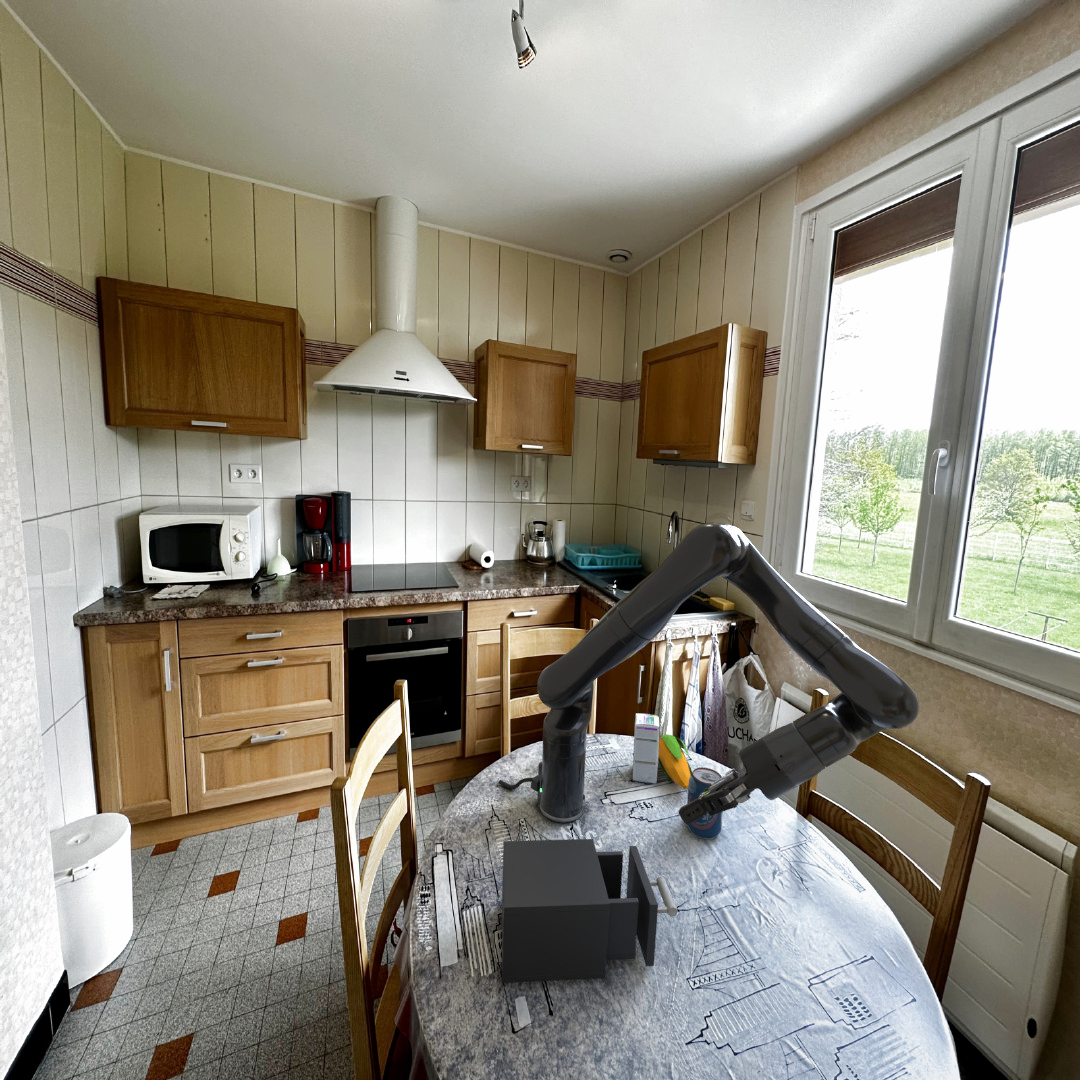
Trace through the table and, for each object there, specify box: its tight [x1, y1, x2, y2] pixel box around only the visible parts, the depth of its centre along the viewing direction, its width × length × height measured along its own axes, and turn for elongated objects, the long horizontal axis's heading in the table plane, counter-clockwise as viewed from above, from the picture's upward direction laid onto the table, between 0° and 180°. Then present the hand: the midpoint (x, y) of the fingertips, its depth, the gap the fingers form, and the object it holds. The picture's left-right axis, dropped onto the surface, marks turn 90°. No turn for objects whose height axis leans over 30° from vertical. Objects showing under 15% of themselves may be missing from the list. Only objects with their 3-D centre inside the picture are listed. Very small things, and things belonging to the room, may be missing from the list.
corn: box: [658, 733, 693, 790], centre depth 122 cm, size 7×8×20 cm
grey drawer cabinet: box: [501, 838, 610, 984], centre depth 77 cm, size 15×13×12 cm
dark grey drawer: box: [596, 845, 679, 967], centre depth 78 cm, size 18×12×10 cm, turn 94°
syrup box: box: [632, 712, 660, 785], centre depth 121 cm, size 6×6×14 cm
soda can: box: [686, 766, 724, 840], centre depth 103 cm, size 7×7×12 cm
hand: (682, 817), depth 77 cm, fingers closed
